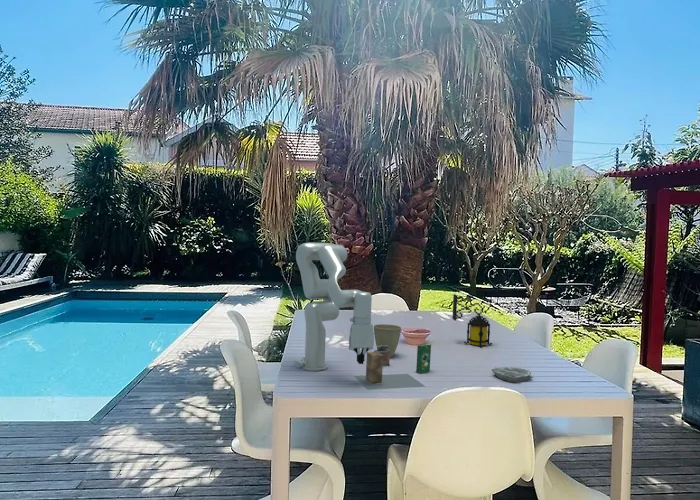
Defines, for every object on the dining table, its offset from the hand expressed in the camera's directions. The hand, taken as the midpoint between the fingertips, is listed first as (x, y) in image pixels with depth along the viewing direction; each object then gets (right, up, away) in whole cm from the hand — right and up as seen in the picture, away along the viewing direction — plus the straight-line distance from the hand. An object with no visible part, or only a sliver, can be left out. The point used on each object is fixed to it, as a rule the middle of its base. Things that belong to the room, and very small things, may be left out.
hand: (360, 363), depth 221 cm
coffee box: (+31, -10, +25) cm, 41 cm away
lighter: (+11, -9, +34) cm, 37 cm away
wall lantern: (+70, -9, +91) cm, 115 cm away
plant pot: (+15, -8, +54) cm, 56 cm away
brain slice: (+71, -12, +21) cm, 75 cm away
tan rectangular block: (+6, -9, +2) cm, 11 cm away
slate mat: (+13, -10, +4) cm, 16 cm away
